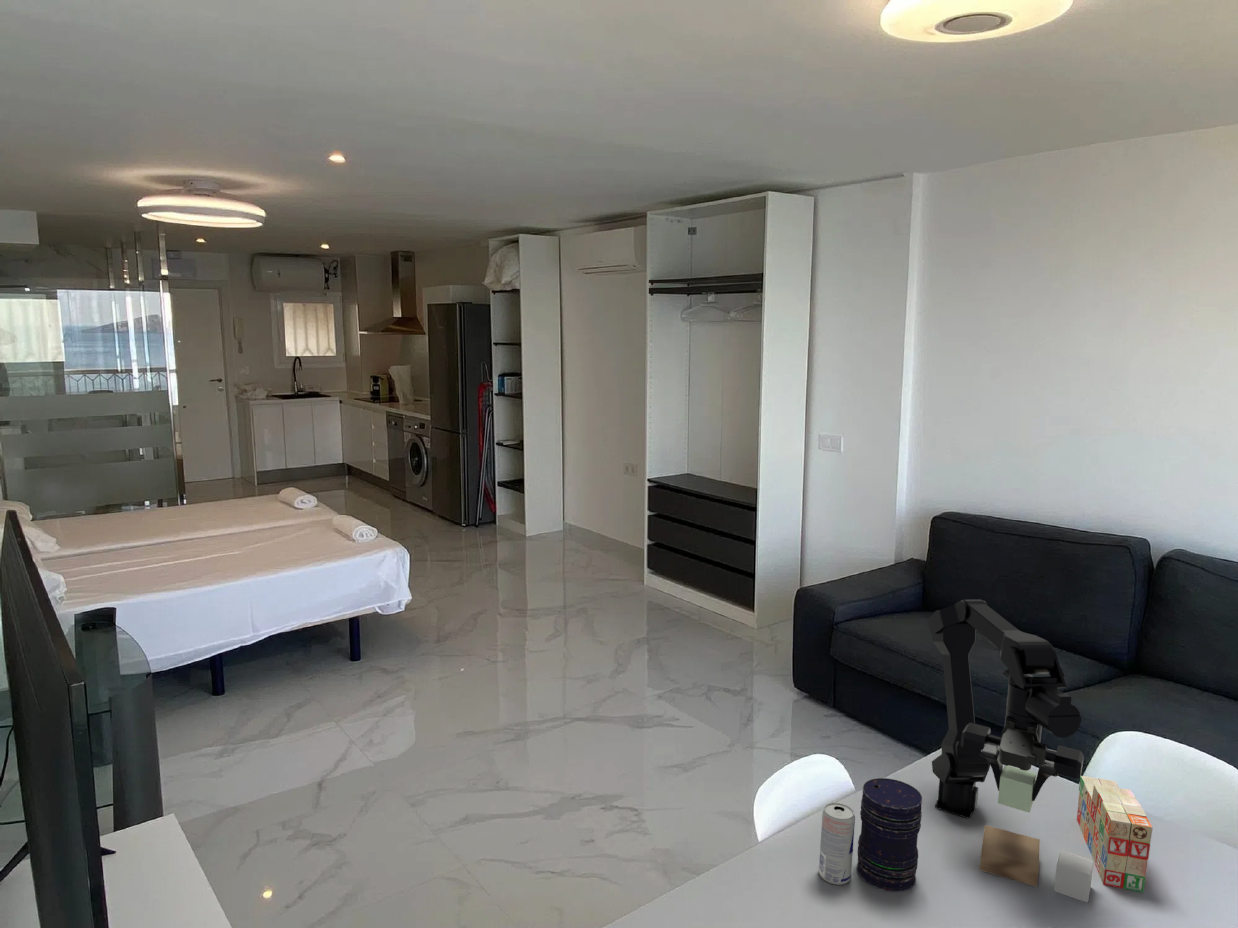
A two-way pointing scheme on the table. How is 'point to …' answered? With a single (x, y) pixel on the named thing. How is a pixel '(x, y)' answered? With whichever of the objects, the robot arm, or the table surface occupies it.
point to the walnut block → (1010, 855)
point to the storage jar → (889, 834)
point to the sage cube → (1016, 788)
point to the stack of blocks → (1114, 832)
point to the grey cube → (1073, 875)
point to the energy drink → (836, 843)
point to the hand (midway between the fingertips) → (1016, 794)
